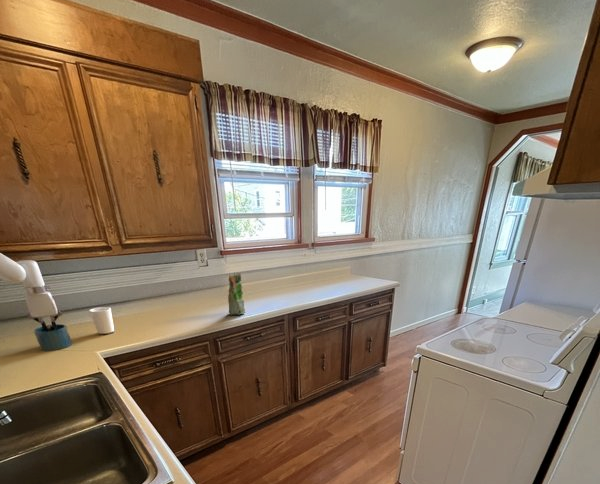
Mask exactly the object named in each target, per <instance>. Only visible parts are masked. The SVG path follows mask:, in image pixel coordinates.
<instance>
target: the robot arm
mask: <svg viewBox="0 0 600 484" xmlns="http://www.w3.org/2000/svg"><path fill="white" fill-rule="evenodd" d="M0 281H4V282H11V283H22V286H23V288H24V291H25V295H24V296H25V297H24V298H25V302H26V307H27V309H28V318H27V319H28V320H30V321H31V320H32V321H34V322H35V321H36V322H37V323H39V324H40V325H41V327H42V328H43V330H45V331H46V332H47V331H48V329H47V323H46V322H45V320H44V319H43V317H50V320H51V321H50V323H51V324H50V325H52V326H53V329H54V330H56V328H57V325H56V324H57V323H56V321H57V320H58V318H59V317H61V316H63V313H62V311H61V310H60V309H58V307H57V303H56V302H55V299H54V297H53V295H52V293H51V292H50V291H49V290H51V287H50V286H49V285H48V286H47V285H46V284H45V281H44V278H43V276H42V272H41V270H40V267H39V265H38V262H37V261H35V260H31V259H27V260H26V259H24V260H18V261H14V260H13V259H11V258H10V257H8V256H6V255H4V254H3V253H2V252H0Z"/></svg>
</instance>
